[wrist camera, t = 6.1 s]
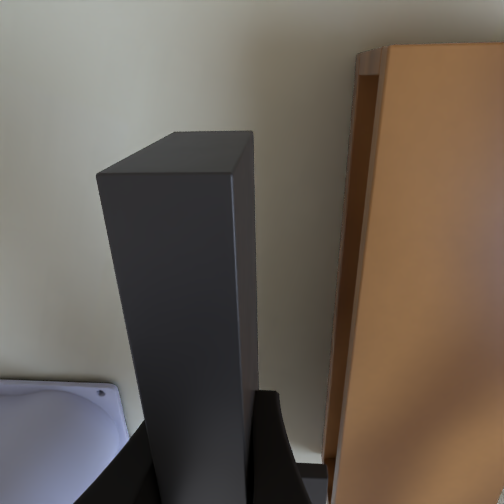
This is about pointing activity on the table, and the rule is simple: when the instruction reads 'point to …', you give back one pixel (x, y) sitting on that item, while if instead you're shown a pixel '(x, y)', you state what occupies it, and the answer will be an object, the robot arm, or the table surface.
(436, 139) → the wooden box
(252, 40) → the table surface
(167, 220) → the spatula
